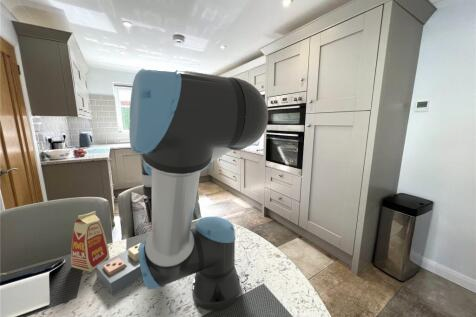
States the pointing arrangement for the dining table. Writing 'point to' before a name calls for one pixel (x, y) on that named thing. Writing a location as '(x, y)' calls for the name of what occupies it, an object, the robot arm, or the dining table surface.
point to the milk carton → (88, 243)
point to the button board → (119, 274)
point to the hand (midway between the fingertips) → (157, 240)
